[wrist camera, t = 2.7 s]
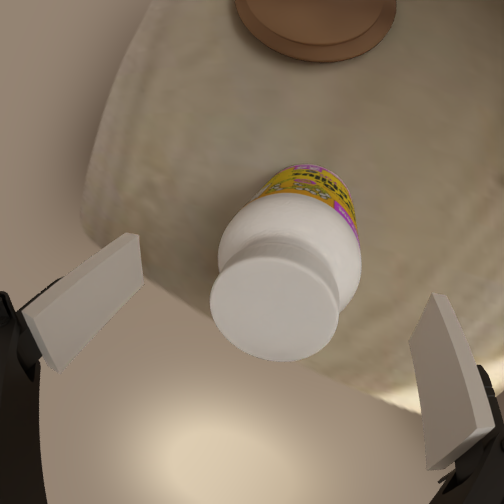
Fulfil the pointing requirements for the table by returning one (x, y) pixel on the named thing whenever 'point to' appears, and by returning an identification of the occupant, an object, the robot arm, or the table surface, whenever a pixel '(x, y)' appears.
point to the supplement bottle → (288, 266)
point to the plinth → (318, 26)
